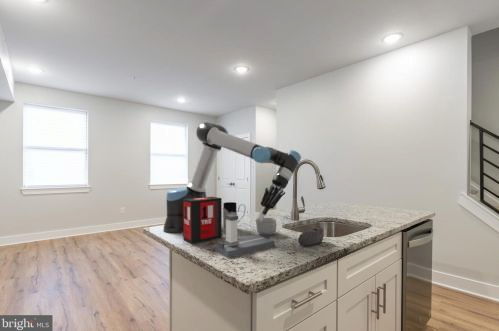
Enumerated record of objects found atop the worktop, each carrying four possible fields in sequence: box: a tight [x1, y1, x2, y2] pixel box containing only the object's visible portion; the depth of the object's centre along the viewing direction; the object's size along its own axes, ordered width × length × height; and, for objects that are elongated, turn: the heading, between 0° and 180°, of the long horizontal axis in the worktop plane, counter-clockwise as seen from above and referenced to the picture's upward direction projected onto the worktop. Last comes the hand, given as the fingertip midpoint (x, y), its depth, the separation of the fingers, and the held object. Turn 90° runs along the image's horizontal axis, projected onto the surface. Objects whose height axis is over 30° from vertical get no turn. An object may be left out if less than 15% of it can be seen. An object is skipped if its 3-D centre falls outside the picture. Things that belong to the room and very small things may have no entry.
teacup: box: [255, 216, 277, 236], centre depth 132 cm, size 14×11×8 cm
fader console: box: [213, 232, 276, 258], centre depth 108 cm, size 12×24×4 cm, turn 125°
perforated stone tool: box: [297, 227, 324, 247], centre depth 112 cm, size 15×5×7 cm, turn 119°
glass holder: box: [222, 201, 246, 232], centre depth 143 cm, size 9×14×15 cm, turn 117°
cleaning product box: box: [182, 196, 223, 245], centre depth 122 cm, size 16×9×20 cm, turn 129°
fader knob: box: [224, 214, 239, 247], centre depth 104 cm, size 5×4×12 cm
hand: (258, 219), depth 114 cm, fingers closed
